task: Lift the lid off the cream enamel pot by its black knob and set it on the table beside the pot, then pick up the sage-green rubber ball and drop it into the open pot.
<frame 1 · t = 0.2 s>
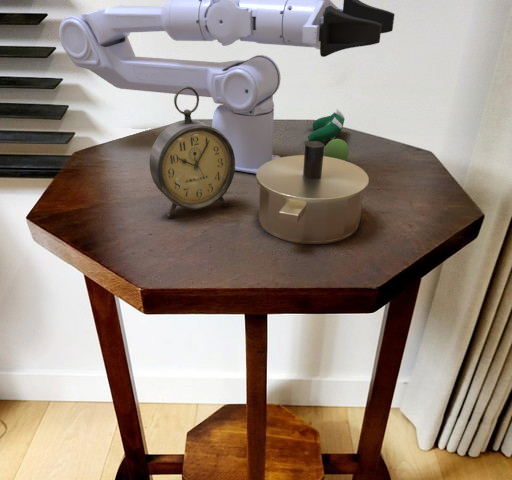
hand: (386, 27, 71), 21 cm above the table, tool horizontal, fingers open, 7 cm apart
pot: (308, 220, 75), on the table
ball: (336, 151, 90), point 2 cm above the table
alarm clock: (194, 210, 77), on the table
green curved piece: (325, 138, 101), on the table
lid: (311, 178, 71), point 6 cm above the table, touching pot
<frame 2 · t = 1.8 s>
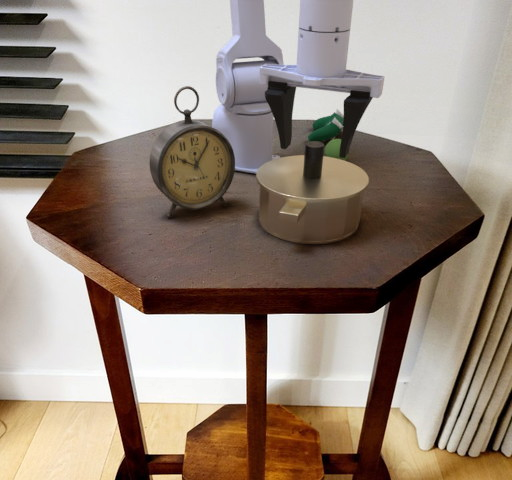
hand: (314, 150, 69), 10 cm above the table, tool pointing down, fingers open, 7 cm apart
nothing on the table moved.
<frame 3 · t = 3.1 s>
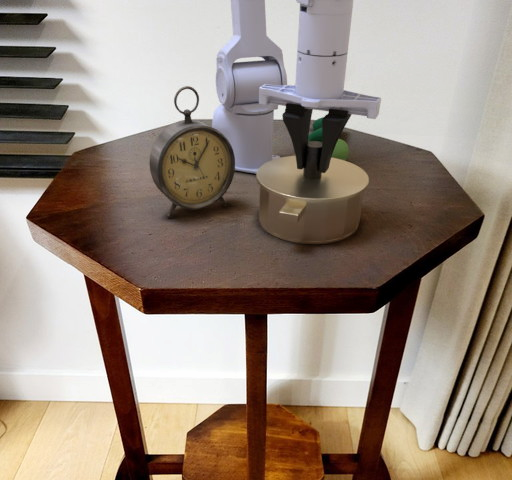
hand: (312, 168, 70), 7 cm above the table, tool pointing down, fingers closed on lid, 2 cm apart
lid: (312, 178, 71), point 6 cm above the table, touching gripper, pot
everything else where it was.
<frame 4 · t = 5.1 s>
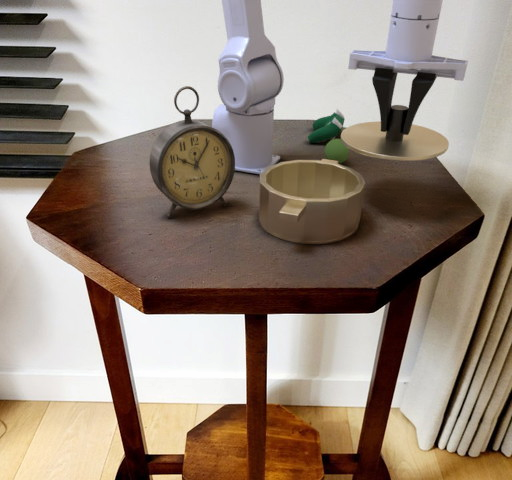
hand: (395, 131, 74), 10 cm above the table, tool pointing down, fingers closed on lid, 2 cm apart
lid: (393, 141, 75), point 8 cm above the table, touching gripper
everything else where it was.
when the fingers open (2 cm above the table, at t = 7.2 s): lid stays where it is, point 1 cm above the table.
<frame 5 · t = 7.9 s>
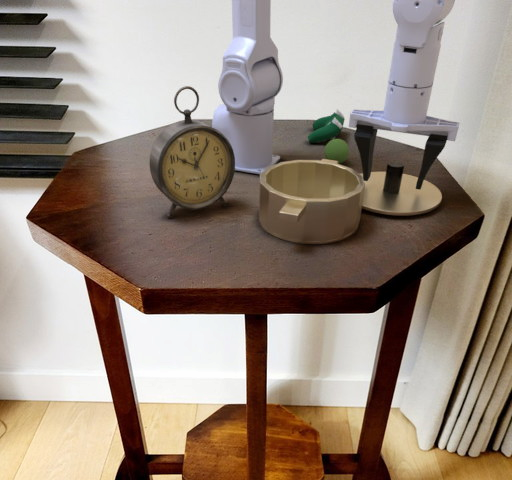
hand: (392, 182, 79), 2 cm above the table, tool pointing down, fingers open, 7 cm apart
lid: (390, 193, 80), point 1 cm above the table
everything else where it was.
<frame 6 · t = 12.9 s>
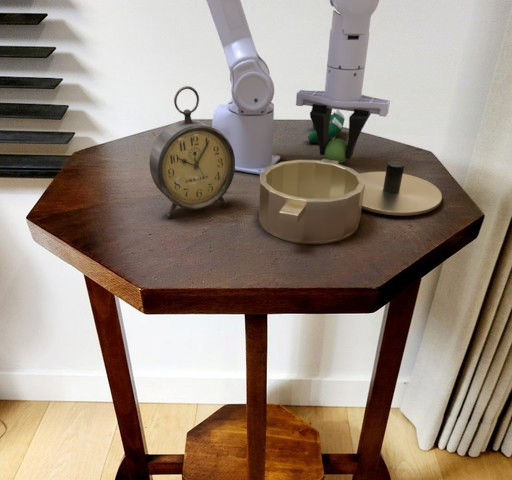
hand: (336, 155, 90), 1 cm above the table, tool pointing down, fingers closed on ball, 4 cm apart
ball: (336, 151, 90), point 2 cm above the table, touching gripper
everything else where it was.
when the fingers open (3 cm above the table, at t = 18.0 s): ball drops 2 cm, resting on pot.
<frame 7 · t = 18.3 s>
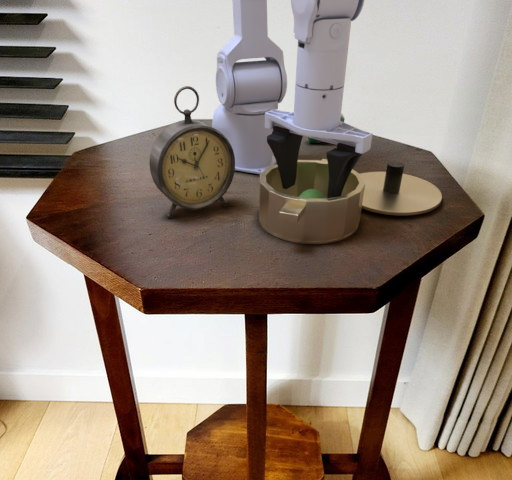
hand: (310, 193, 72), 4 cm above the table, tool pointing down, fingers open, 7 cm apart
ball: (311, 204, 73), point 2 cm above the table, tilted 8°, touching pot
everything else where it was.
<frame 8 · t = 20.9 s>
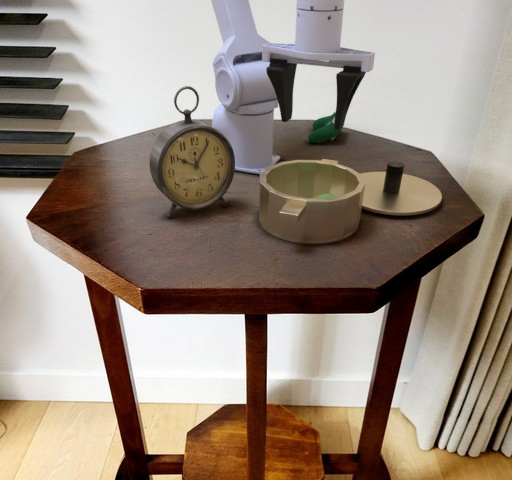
hand: (312, 123, 74), 10 cm above the table, tool pointing down, fingers open, 7 cm apart
ball: (326, 209, 72), point 2 cm above the table, tilted 76°, touching pot
everything else where it was.
at the end: lid inside the target area (0.0 cm from its centre), point 0.6 cm above the table; ball inside the target area in the pot (2.7 cm from its centre), point 2.4 cm above the pot's base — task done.
